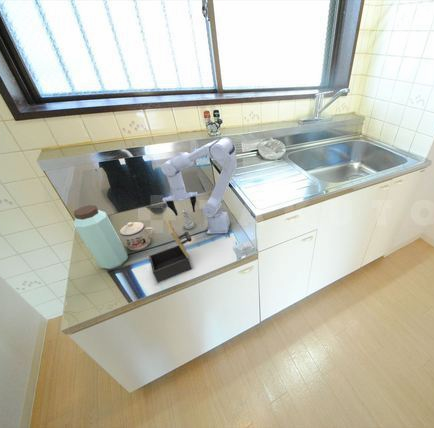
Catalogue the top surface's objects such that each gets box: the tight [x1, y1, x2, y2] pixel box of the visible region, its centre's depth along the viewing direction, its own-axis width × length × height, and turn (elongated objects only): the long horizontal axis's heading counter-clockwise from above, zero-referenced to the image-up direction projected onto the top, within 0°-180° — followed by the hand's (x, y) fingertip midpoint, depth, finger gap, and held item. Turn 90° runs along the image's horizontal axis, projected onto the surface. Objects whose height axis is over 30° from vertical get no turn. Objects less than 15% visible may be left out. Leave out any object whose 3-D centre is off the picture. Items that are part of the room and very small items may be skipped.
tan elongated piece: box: [164, 218, 193, 259], centre depth 87 cm, size 13×10×5 cm
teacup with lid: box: [119, 221, 156, 251], centre depth 100 cm, size 12×9×12 cm
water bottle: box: [73, 204, 129, 270], centre depth 87 cm, size 10×10×25 cm
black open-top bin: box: [148, 244, 193, 284], centre depth 90 cm, size 12×10×6 cm
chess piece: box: [181, 209, 195, 230], centre depth 111 cm, size 4×4×10 cm
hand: (185, 212), depth 109 cm, fingers open, 7 cm apart
